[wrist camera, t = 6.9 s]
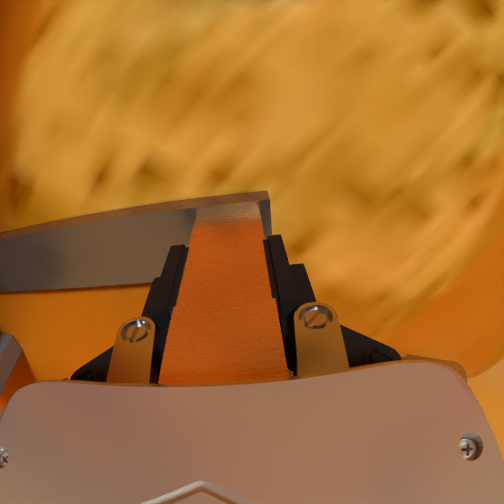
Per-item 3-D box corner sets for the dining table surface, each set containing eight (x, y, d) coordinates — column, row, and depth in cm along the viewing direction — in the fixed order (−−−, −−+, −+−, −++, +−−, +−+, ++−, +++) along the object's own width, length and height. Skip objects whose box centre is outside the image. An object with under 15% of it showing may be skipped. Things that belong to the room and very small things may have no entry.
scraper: (267, 190, 15) (320, 398, 5) (271, 259, 17) (307, 460, 7) (-40, 243, 15) (-118, 336, 5) (-21, 284, 17) (-85, 381, 7)
